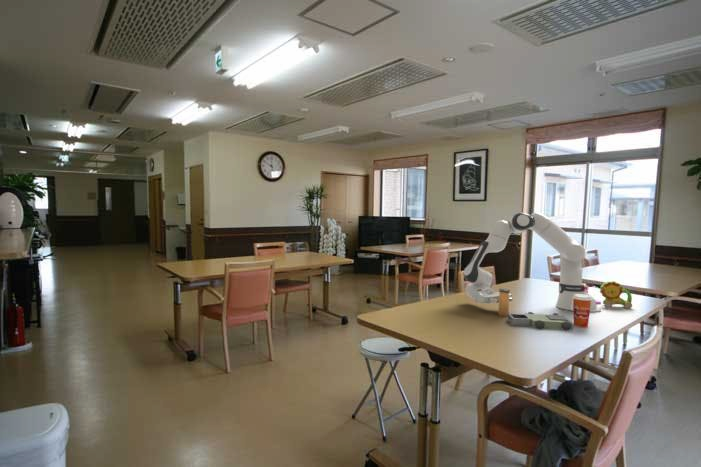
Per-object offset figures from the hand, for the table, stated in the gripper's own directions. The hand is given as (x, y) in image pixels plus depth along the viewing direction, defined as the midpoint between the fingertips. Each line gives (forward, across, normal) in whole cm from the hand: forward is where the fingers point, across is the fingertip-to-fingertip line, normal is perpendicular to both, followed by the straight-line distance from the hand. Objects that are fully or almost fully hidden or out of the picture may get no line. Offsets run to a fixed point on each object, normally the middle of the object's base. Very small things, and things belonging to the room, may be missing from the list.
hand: (504, 300), depth 208 cm
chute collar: (+14, +3, -8) cm, 16 cm away
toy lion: (+6, -77, -8) cm, 77 cm away
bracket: (-8, -74, -8) cm, 74 cm away
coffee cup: (+27, -24, -8) cm, 37 cm away
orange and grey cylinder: (0, 0, -8) cm, 8 cm away
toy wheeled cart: (+21, -9, -8) cm, 24 cm away
